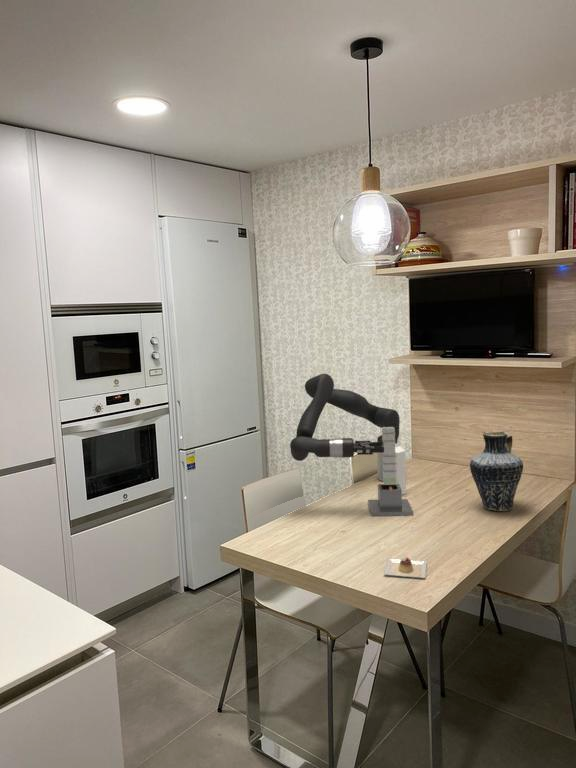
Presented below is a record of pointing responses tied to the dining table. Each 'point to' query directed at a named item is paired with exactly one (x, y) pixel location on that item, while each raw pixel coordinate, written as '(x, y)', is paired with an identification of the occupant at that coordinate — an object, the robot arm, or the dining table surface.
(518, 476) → the jug
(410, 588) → the dining table surface
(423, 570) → the dessert
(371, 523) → the dining table surface
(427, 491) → the dining table surface
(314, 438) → the robot arm
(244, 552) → the dining table surface
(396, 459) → the milk
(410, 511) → the stand
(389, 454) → the column
